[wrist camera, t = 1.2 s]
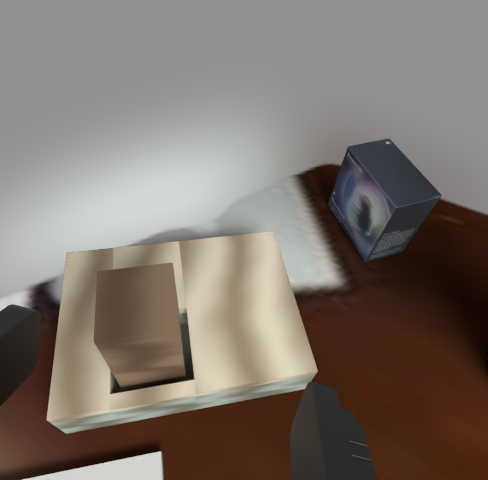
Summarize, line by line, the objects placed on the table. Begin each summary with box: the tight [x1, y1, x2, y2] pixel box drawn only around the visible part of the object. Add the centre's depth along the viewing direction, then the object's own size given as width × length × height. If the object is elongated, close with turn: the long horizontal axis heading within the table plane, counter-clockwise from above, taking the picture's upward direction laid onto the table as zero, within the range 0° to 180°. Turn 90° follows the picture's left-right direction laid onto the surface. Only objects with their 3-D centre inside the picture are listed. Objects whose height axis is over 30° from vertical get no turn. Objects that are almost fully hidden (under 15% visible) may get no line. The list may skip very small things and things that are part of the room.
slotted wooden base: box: [47, 231, 318, 434], centre depth 37 cm, size 22×16×5 cm
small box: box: [327, 139, 441, 262], centre depth 46 cm, size 11×6×10 cm, turn 20°
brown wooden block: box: [94, 263, 187, 392], centre depth 30 cm, size 5×5×12 cm
